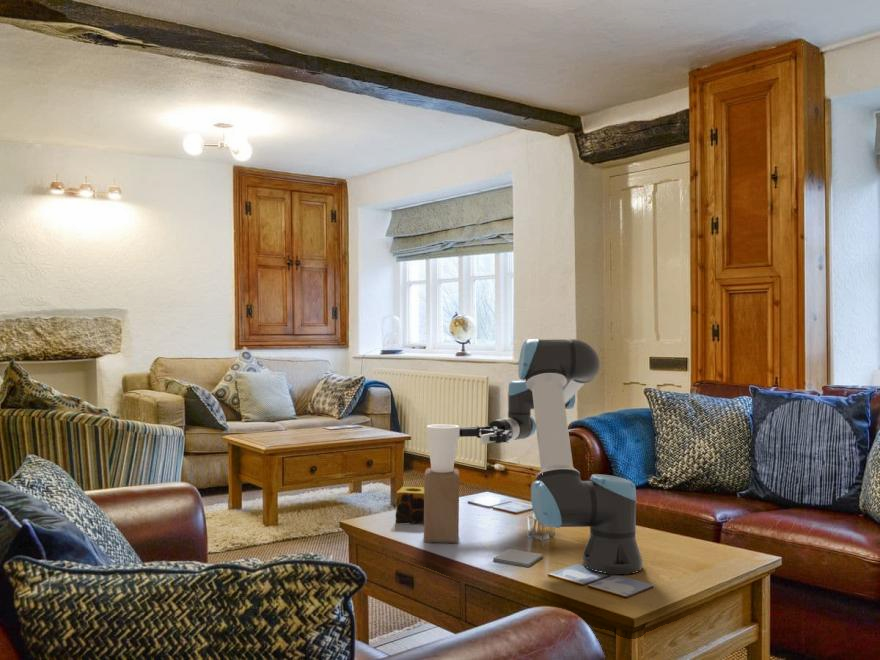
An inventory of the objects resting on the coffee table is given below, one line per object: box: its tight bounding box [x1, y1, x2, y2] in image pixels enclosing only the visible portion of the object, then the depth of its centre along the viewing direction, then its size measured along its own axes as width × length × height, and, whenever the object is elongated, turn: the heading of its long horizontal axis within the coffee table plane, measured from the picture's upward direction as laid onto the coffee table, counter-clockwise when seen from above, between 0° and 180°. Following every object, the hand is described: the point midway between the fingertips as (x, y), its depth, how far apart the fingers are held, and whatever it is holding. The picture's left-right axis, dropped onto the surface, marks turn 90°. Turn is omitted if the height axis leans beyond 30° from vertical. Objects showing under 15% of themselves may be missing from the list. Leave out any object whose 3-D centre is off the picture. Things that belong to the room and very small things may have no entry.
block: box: [423, 467, 460, 544], centre depth 226 cm, size 10×10×20 cm
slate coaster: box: [493, 548, 544, 568], centre depth 207 cm, size 10×10×1 cm
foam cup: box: [426, 423, 460, 473], centre depth 226 cm, size 10×9×13 cm
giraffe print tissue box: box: [395, 486, 424, 525], centre depth 247 cm, size 10×10×10 cm
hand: (463, 437), depth 234 cm, fingers open, 13 cm apart
